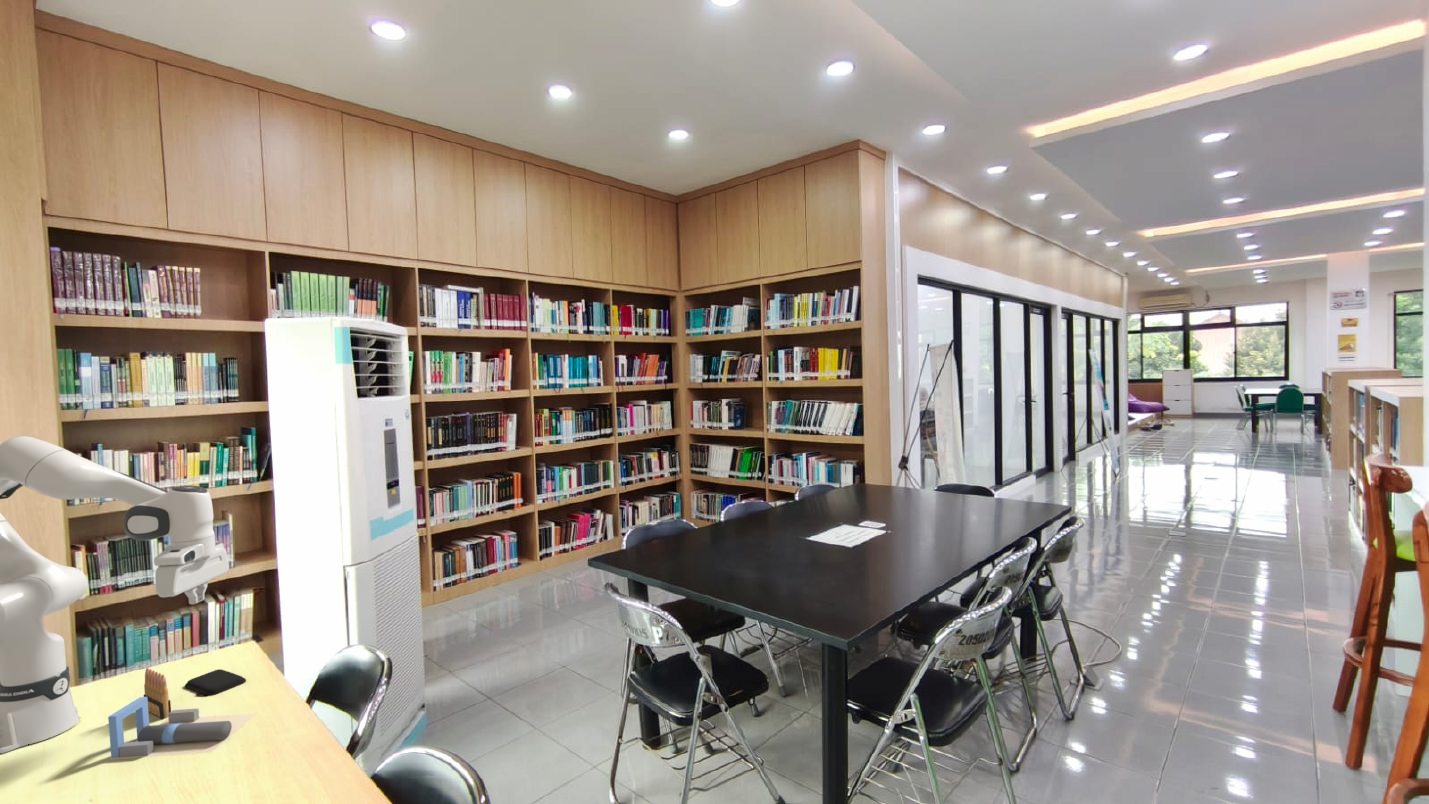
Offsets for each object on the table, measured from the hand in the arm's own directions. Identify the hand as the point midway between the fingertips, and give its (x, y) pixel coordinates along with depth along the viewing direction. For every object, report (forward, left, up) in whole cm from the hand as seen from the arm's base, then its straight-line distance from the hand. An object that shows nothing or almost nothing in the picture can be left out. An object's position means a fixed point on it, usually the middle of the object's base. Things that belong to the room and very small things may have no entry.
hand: (196, 602), depth 161 cm
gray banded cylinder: (+6, -16, -28) cm, 33 cm away
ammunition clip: (-11, 0, -29) cm, 31 cm away
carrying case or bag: (-7, +14, -30) cm, 34 cm away
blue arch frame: (-5, -16, -29) cm, 33 cm away
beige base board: (+5, -12, -29) cm, 32 cm away
